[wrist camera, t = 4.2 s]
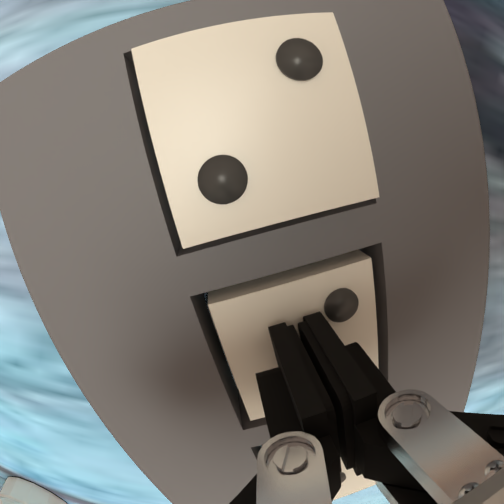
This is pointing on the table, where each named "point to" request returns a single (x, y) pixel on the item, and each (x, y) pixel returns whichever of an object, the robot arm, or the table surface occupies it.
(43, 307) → the button panel
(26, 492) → the white cup
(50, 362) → the table surface
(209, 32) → the button two
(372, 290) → the button three
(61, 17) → the table surface
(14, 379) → the table surface
